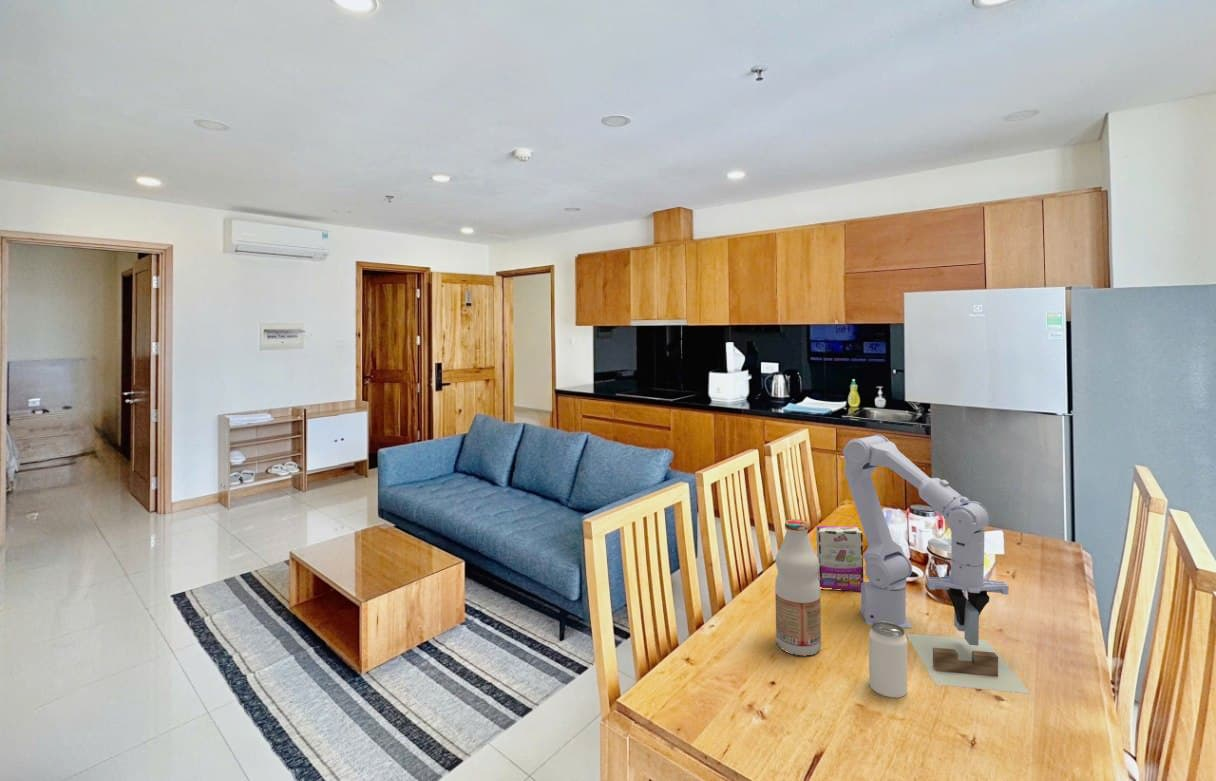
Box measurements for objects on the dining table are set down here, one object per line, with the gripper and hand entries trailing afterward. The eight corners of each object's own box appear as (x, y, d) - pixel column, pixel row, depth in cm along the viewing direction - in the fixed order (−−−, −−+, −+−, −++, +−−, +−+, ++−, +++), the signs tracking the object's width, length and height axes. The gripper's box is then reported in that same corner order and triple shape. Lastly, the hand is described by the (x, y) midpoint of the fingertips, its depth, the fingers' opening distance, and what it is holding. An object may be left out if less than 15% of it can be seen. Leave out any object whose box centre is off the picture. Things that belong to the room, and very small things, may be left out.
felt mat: (935, 685, 105) (935, 684, 105) (905, 634, 123) (905, 633, 123) (1031, 695, 101) (1031, 693, 101) (985, 641, 119) (985, 639, 119)
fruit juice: (777, 655, 117) (775, 528, 115) (775, 632, 126) (773, 514, 124) (824, 659, 115) (822, 530, 113) (818, 636, 124) (816, 516, 122)
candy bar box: (859, 584, 149) (859, 526, 148) (864, 592, 144) (863, 532, 143) (816, 582, 152) (815, 524, 151) (819, 590, 147) (818, 530, 146)
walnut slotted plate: (935, 671, 109) (935, 651, 108) (932, 666, 110) (932, 647, 110) (998, 676, 106) (998, 657, 106) (994, 671, 108) (994, 652, 107)
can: (905, 703, 100) (906, 641, 99) (867, 693, 103) (867, 632, 102) (908, 684, 105) (908, 625, 104) (871, 675, 109) (871, 617, 108)
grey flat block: (969, 644, 111) (970, 611, 110) (954, 625, 119) (954, 594, 118) (978, 645, 111) (979, 612, 110) (962, 625, 118) (963, 594, 118)
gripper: (935, 566, 111) (934, 630, 112) (1016, 571, 108) (1014, 636, 109) (923, 553, 118) (923, 613, 119) (1000, 557, 115) (998, 619, 116)
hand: (966, 623), depth 114 cm, fingers closed on grey flat block, 2 cm apart
